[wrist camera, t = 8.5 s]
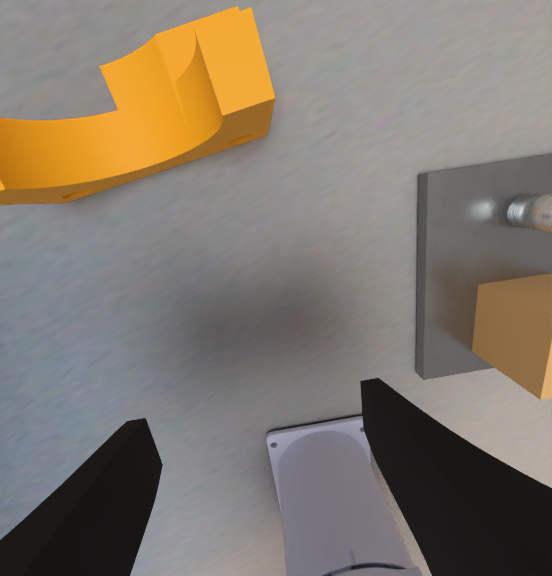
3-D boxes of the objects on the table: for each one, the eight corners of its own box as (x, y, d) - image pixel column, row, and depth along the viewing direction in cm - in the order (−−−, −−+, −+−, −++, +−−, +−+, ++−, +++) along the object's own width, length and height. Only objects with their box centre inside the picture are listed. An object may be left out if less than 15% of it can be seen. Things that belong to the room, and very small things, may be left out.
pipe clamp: (241, 46, 15) (232, -64, 8) (266, 136, 16) (275, 97, 10) (24, 120, 15) (-137, 66, 9) (68, 202, 16) (-45, 206, 10)
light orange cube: (539, 340, 20) (628, 384, 15) (471, 351, 20) (540, 399, 15) (552, 273, 18) (655, 299, 14) (478, 284, 18) (556, 314, 14)
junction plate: (568, 345, 22) (635, 376, 18) (415, 371, 21) (451, 409, 17) (609, 145, 17) (709, 130, 13) (418, 174, 17) (465, 167, 13)
